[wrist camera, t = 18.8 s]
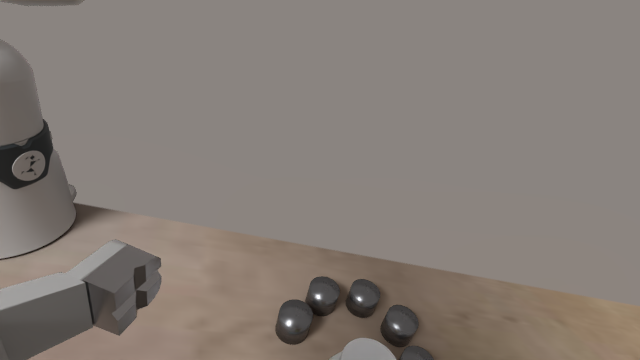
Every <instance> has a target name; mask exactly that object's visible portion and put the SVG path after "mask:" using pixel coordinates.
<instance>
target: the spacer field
mask: <svg viewBox="0 0 640 360" xmlns="http://www.w3.org/2000/svg"><path fill="white" fill-rule="evenodd" d="M339 293H340V290H339V286H338V285H337V283H336V282H335V281H334V280H332V279H330V278H328V277H316V278H314V279H313V280H312V281H311V283H310V287H309V290H308V293H307V297H306V300H305V302H303V301H300V300H289V301H286V302H285V303H284V304H283V305H282V306H281V308H280V311H279V315H278V319H277V323H276V334H277V336H278V337H279V339H280V340H282V341H283V342H285V343H287V344H292V345H294V344H299V343H301V342H302V341H304V340H305V338H306V336H307V334H308V331H309V328H310V325H311V322H312V318H313V314H315V315H318V316H327V315H329V314H330V313H332V311H333V309H334V307H335V304H336V301H337V299H338V296H339ZM379 298H380V291H379V289H378V287H377V286H376V285H375V284H374V283H372V282H370V281H368V280H365V279H359V280H356V281H354V282H353V284H352V286H351V289H350V291H349V294H348V296H347V299H346V306H347V308H348V310H349V311H350V312H351V313H352V314H353V315H355V316H357V317H361V318H366V317H369V316H371V315H372V313H373V311H374V309H375V307H376V305H377V303H378V300H379ZM417 328H418V319H417V317H416V315H415V314H414V313H413V312H412V311H411V310H410V309H408V308H407V307H405V306H402V305H394V306H392V307H390V309H389V310H388V312H387V314H386V316H385V318H384V320H383V322H382V325H381V333H382V335H383V337H384V338H385V340H386V341H388V342H389V343H390V344H392V345H394V346H397V347H404V346H406V345H407V344H408V343H409V342H410V340H411V338H412V337H413V335H414V333H415V332H416V330H417ZM399 360H434V359H433V357H432V356H431V355H430V354H429V353H428V352H427V351H426V350H424V349H423V348H421V347H418V346H409V347H407V348H406V349H405V350H404V352H403V353H402V355H401V357H400V358H399Z"/></svg>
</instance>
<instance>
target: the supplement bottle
mask: <svg viewBox="0 0 640 360" xmlns="http://www.w3.org/2000/svg"><path fill="white" fill-rule="evenodd" d="M329 360H396V358H395V356H394V355H393V354H392V352H391V351H390V350H389V349H388V348H387V347H386V346H384V345H383V344H381V343H380V342H378V341H376V340H373V339H369V338H357V339H354V340H352V341H351V342H349V343H348V344H347V345H346V346H345V347H344V349H343V351H342V352H340V353H337V354H336V355H334V356H332V357H331V358H330V359H329Z"/></svg>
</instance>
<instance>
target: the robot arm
mask: <svg viewBox="0 0 640 360" xmlns="http://www.w3.org/2000/svg"><path fill="white" fill-rule="evenodd" d="M83 1H84V0H0V2H7V3H12V4H18V5H25V6H63V5H64V6H65V5H79V4H80V3H81V2H83ZM75 196H76V190H75V188H74V186H72V185H69V184H68V182H67V179H66V176H65V172H64V169H63V166H62V163H61V160H60V157H59V154H58V152H57V151H56V150H53V146H52V135H51V132H50V131H49V127H48V124H47V122H46V121H45V120H44V119H43V118H42V114H41V109H40V104H39V99H38V94H37V89H36V84H35V79H34V74H33V70H32V68H31V66H30V64H29V63H28V62H27V60H26V59H25V58H24V57H23V56H22V55H21V54H20V53H19V52H18V51H17V50H16V49H15V48H14V47H12V46H11V45H9V44H8V43H6V42H5V41H3V40H1V39H0V259H2V258H7V257H12V256H16V255H20V254H23V253H26V252H29V251H32V250H35V249H37V248H40V247H42V246H44V245H46V244H48V243H50V242H52V241H54V240H55V239H57V238H58V237H60V236H61V235H62V234H64V233H65V232H66V231H67V230H68V229H69V228H70V227H71V225H72V224H73V222H74V220H75V217H76V210H75V207H74V204H73V200H74V198H75ZM160 267H161V258H159V257H156V256H154V255H152V254H149V253H147V252H145V251H142V250H140V249H138V248H135V247H133V246H131V245H128V244H126V243H124V242H121V241H119V240H116V239H115V240H112V241H109V242H108V243H106V244H105V245H103V246H102V247H101V248H99V249H98V250H97V251H95V252H94V253H93V254H91V255H90V256H88V257H87V258H86V259H84V260H83V261H82V262H80V263H79V264H78V265H76V266H75V267H73V268H72V269H71V270H69V271H68V272H67V273H65V274H64V273H62V272H59V273H55V274H52V275H48V276H45V277H41V278H38V279H34V280H31V281H27V282H24V283H20V284H16V285H13V286H9V287H6V288H2V289H0V360H27V359H29V358H31V357H33V356H35V355H37V354H39V353H41V352H43V351H45V350H47V349H49V348H51V347H53V346H55V345H58V344H60V343H62V342H64V341H66V340H68V339H70V338H72V337H74V336H76V335H78V334H80V333H82V332H84V331H86V330H88V329H90V328H92V327H93V325H94V326H96V327H99V328H101V329H104V330H106V331H109V332H111V333H114V334H116V335H119V336H120V334H121V333H122V332H123V331H124V330H125V329H126V328H127V327H128V326H129V325H130V324H131V323H132V322H133V321H134V320H135V318H136V317H137V310H138V309H140V308H143V307H145V306H148V304H149V303H150V302H151V301H152V300H153V299H154V298H155V296H156V294H157V292H158V291H159V289H160V285H161V275H160V274H159V272H158V269H159V268H160Z"/></svg>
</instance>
